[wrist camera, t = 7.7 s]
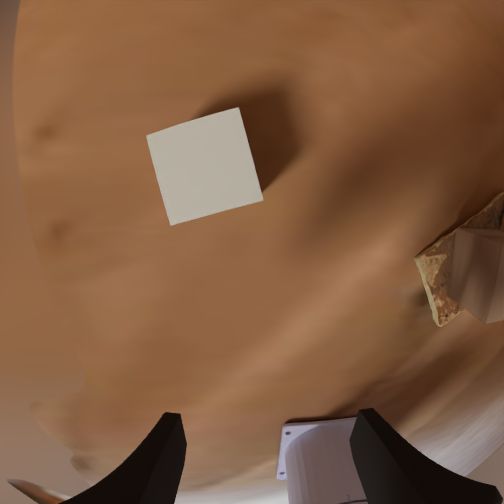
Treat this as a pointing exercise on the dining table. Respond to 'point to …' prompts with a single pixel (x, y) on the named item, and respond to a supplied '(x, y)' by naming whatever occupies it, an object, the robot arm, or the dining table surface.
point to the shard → (440, 260)
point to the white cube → (204, 166)
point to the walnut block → (478, 273)
